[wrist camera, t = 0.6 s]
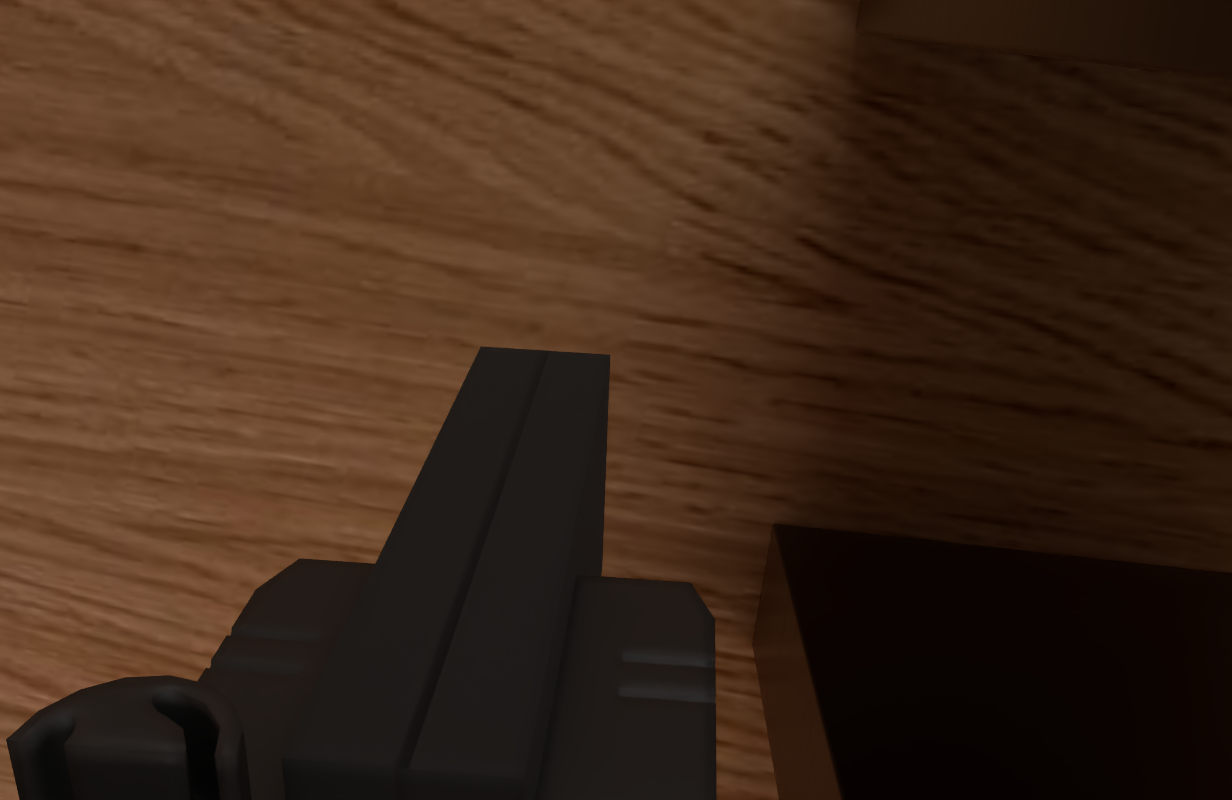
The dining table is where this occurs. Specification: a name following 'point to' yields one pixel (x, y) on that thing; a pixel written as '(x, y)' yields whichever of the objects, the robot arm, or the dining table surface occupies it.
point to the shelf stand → (1002, 574)
